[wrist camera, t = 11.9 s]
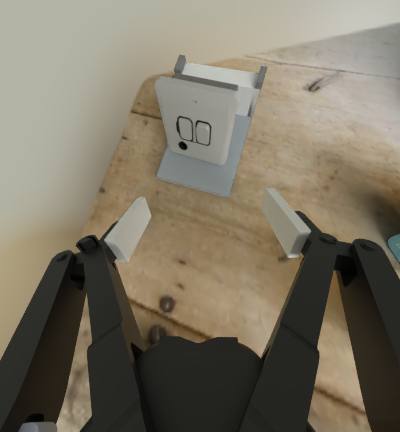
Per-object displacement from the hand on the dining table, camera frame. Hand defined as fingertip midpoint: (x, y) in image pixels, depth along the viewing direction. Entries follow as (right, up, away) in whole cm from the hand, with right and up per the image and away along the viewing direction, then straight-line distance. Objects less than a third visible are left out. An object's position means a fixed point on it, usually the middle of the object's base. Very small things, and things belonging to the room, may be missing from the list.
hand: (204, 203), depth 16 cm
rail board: (+1, +11, +8) cm, 14 cm away
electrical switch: (0, +10, +7) cm, 12 cm away
